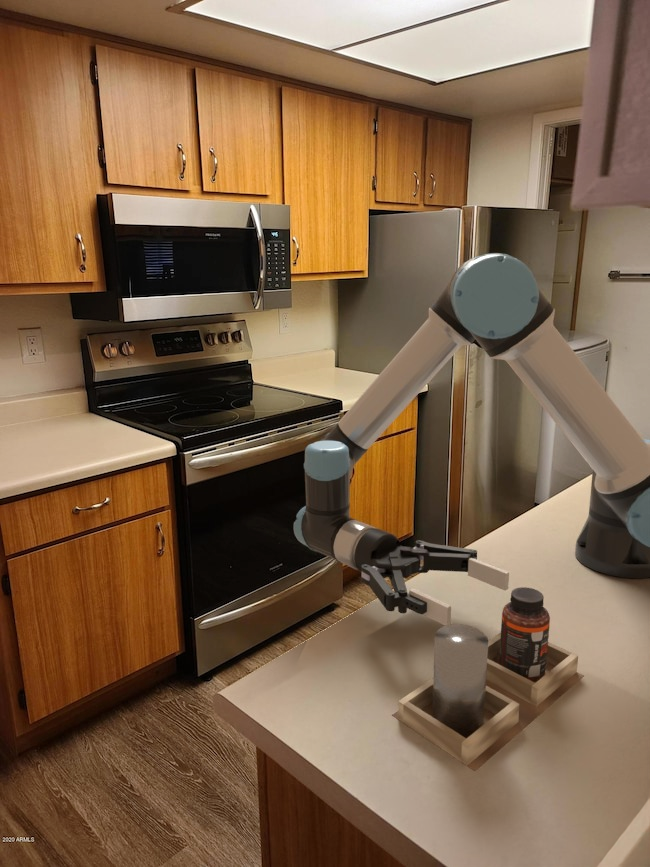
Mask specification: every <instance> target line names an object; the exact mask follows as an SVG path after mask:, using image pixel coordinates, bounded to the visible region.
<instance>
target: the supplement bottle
mask: <svg viewBox="0 0 650 867" xmlns="http://www.w3.org/2000/svg"><path fill="white" fill-rule="evenodd" d="M509 599H510V602H508V603H506V604H505V605H504V606H503V608H502V613H501V624H500V625H501V626H500V633H501V640H500V641H501V642H500V657H499V665H501V666H503V667H505V668H507V669H509V670H511V671H513V672H515V673H517V674H519V675H521V676H523V677H525V678H526V679H528V680H530V681H532V682H536V681H538V680H540V679H541V678H542V677H543V676H544V675H545V670H546V662H547V649H548V642H549V636H550V634H549V633H550V621H551V616H550V614H549V613H550V612H549V611H548V610H547V608H545V607H544V594H543V593H542V592H541V591H539V590H537V589H535V588H531V587H527V586H526V587H523V586H522V587H516V588H514V589H512V590H511V594H510V598H509Z"/></svg>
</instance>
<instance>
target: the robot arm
mask: <svg viewBox="0 0 650 867" xmlns="http://www.w3.org/2000/svg"><path fill="white" fill-rule="evenodd" d="M555 313H556V309H555V308H554V307H553V305H552V304H551V302H550V301H549V300H548V299H547V296H545V295H544V294H543V292H542V291H541V289H540V288H539V286H538V282H537V279H536V278H535V275H534V273H533V271H532V270H531V269H530V267H528V265H527V264H525V263H524V262H523V261H522V260H520V259H519V258H516V257H514V256H513V255H509V254H506V253H499V252H492V253H491V252H490V253H485V254H482V255H478V256H474V257H472V258H469V259H468V260H466V261H465V262H463V263H462V264H460V266H458V268H457V269H455V271H454V273H453V274H452V276H451V278H450V279H449V282H447V284H446V285H445V287H444V289H443V290H442V292H440V294H439V296H438V297H437V299H436V300H435V301H434V302H433V303H432V305H431V306H430V307H429V308H428V318H427V319H426V320H425V321H424V323H422V325H421V326H420V327H419V329H418V330H416V332H415V333H414V334H413V335H412V337H411V338H410V339H409V340H408V341H407V342H406V343H405V344H404V346H403V347H402V348H401V349H400V350H399V352H398V353H397V354H396V355H395V356H394V357H393V358H392V360H391V361H390V362H389V363H388V364H387V366H385V368H384V369H382V371H381V372H380V373H379V375H378V376H377V377H376V378H375V379H374V380H373V381H372V383H371V384H370V385H369V386H368V388H367V389H366V390H365V391H364V392H363V393H362V394H361V396H360V397H359V398H357V400H356V401H355V402H354V403H353V405H352V406H351V407H350V408H349V410H347V411H346V413H345V414H344V415H343V416H342V417H341V419H340V420H339V421H338V423H337V424H336V425H335V426H334V427H333V428H332V429H331V430H330V431H329V432H328V433H327V434H325V435H324V436H323V437H322V438H321V439H320V440H318V441H314V442H313V443H310V444H308V445H307V446H306V447H305V450H304V463H303V469H304V482H305V484H304V485H305V505H304V506H303V507H301V508H300V510H299V511H298V512H297V513H296V515H295V516H296V518H295V521H294V522H293V534H294V536H295V537H296V539H297V541H298V542H299V543H301V544H302V545H303V546H306V547H307V548H308V549H309V550H311V551H313V552H316V553H320V554H321V555H324V556H327V557H329V558H331V559H334V560H335V561H337V562H338V563H341V564H344V565H345V566H348V567H350V568H351V569H354V570H356V571H358V572H360V573H361V582H362V584H365V585H366V586H368V587H369V588H370V589H371V591H372V592H373V593H374V595H375V597H376V598H377V600H378V601H379V602H380V603H381V605H382V606H383V608H384V609H385V610H386V611H387V612H394V611H395V608H397V611H398V613H400V614H406V613H407V611H408V610H410V611H412V612H414V613H416V614H418V615H423V616H425V617H427V618H429V619H431V620H433V621H434V622H437V623H439V624H441V625H443V626H447V625H451V622H452V620H451V619H452V618H451V617H452V605H451V604H448V603H446V602H444V601H441V600H440V599H437V598H436V597H433V596H431V595H429V594H426V593H424V592H422V591H420V590H418V589H415V588H413V587H412V588H410V589H409V590H408V588H407V586H406V582H405V579H407V578H410V577H411V576H412V575H415V574H427V573H428V572H429V571H437V572H460V573H462V572H463V573H467V576H468V577H471V578H473V579H475V580H477V581H480V582H483V583H485V584H488V585H491V586H493V587H495V588H498V589H500V590H503V591H507V590H509V580H510V571H508V570H505V569H502V568H500V567H497V566H494V565H491V564H489V563H487V562H484V561H481V560H480V559H478V550H477V549H472V548H471V549H470V548H465V547H457V546H452V545H451V546H450V545H443V544H442V545H441V544H436V543H430V542H427V541H424V540H419V539H418V540H416V541H415V546H414V547H411V546H403V544H402V543H401V542H400V540H399V539H398V537H397V535H394V534H393V533H392V532H388V531H385V530H382V529H380V528H377V527H375V526H373V525H370V524H367V523H365V522H362V521H360V520H357V519H355V518H352V517H351V515H350V510H351V508H350V507H351V506H350V505H351V503H350V498H351V497H350V496H351V494H350V493H351V492H350V491H351V490H350V487H351V483H350V482H351V477H352V474H353V469H354V467H355V466H356V464H357V463H358V462H359V460H360V459H362V457H363V456H364V455H365V454H366V453H367V452H368V450H369V449H370V447H371V446H373V444H374V443H375V442H376V441H377V440H378V439H379V438H380V437H381V435H383V433H385V431H386V430H387V429H388V428H389V427H390V426H391V424H393V422H394V421H395V420H396V419H397V418H398V417H399V416H400V415H401V413H402V412H404V410H405V409H406V408H407V407H408V406H409V405H410V404H411V402H412V401H413V400H414V399H416V398H417V396H418V394H420V393H421V392H422V390H423V389H424V388H425V387H426V386H427V385H428V384H429V382H430V381H432V379H434V377H435V376H436V375H437V374H438V372H440V370H442V368H444V366H445V365H446V364H447V362H449V360H451V359H452V357H453V356H454V355H455V354H456V353H457V352H458V350H460V348H462V347H464V346H470V345H472V344H473V343H474V342H475V341H476V342H477V343H478V345H479V346H480V348H482V349H483V351H484V352H486V354H487V356H489V357H490V359H492V360H503V361H505V362H506V363H507V364H508V365H509V366H510V368H511V369H512V370H513V372H514V373H515V375H517V377H518V378H519V379H520V380H521V382H522V383H523V384H524V386H525V387H526V388H527V389H528V391H529V392H530V393H531V394H532V396H533V397H534V398H535V399H536V401H537V402H539V404H540V405H541V406H542V408H543V409H544V410H545V411H546V413H547V414H548V416H549V417H550V418H551V419H552V421H553V422H554V423H555V424H556V425H557V427H558V428H559V429H560V431H561V432H562V433H563V434H564V435H565V436H566V438H567V439H568V441H570V443H571V444H572V445H573V446H574V448H575V449H576V450H577V451H578V453H579V454H580V455H581V457H582V458H583V459H584V461H585V462H586V463H587V464H588V465H589V467H590V468H591V469H592V475H591V484H590V498H589V508H588V516H587V519H586V521H585V522H584V525H583V526H582V528H581V531H580V533H579V534H578V536H577V539H576V543H575V550H574V555H575V557H576V559H577V560H578V562H580V563H581V564H582V565H584V566H586V567H587V568H589V569H591V570H594V571H596V572H599V573H602V574H605V575H607V576H613V577H619V578H626V579H627V578H628V579H646V578H650V439H648V438H647V439H645V438H642V437H641V435H640V434H639V433H638V431H637V430H636V428H634V426H633V425H632V424H631V422H630V421H629V420H628V419H627V417H626V416H625V414H623V412H622V411H621V410H620V408H619V407H618V406H617V405H616V403H615V402H614V400H612V398H611V397H610V396H609V394H608V393H607V392H606V390H605V389H604V387H603V386H602V385H601V384H600V383H599V381H598V380H597V378H595V376H594V375H593V374H592V373H591V372H590V370H589V368H587V366H586V365H585V363H584V362H583V361H582V360H581V359H580V357H579V356H578V355H577V353H576V352H575V351H574V350H573V348H572V347H571V346H570V344H569V343H568V342H567V341H566V339H565V338H564V337H563V335H562V334H561V333H560V332H559V330H558V329H557V328H556V327H555V325H554V318H555ZM421 560H422V562H423V564H422V566H421ZM386 578H389V580H390V584H391V586H390V585H389V583H388V582H387V580H385V579H386ZM392 588H393V589H392Z"/></svg>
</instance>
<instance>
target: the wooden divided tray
mask: <svg viewBox="0 0 650 867" xmlns="http://www.w3.org/2000/svg"><path fill="white" fill-rule="evenodd" d="M500 640H501V632H499V633H498V634H496V635H495V636H493V637H491V638H490V639H488V657H487V675H486V693H485V712H484V725H483V726H482V727H480V728H479V729H478V730H477V731H475V732H474V733H473V734H472V735H470V736H469V737H468V738H465V737H463V736H461V735H460V734H458V733H457V732H455V731H454V730H452V729H450V728H449V727H447V726H446V725H444V724H443V723H441V722H439V721H438V720H436V719H435V718H433V717H432V711H433V678H434V677H432V678H431V679H429V680H427V681H426V682H425V683H423V684H422V685H420V686H419V687H417V688H416V689H414V690H413V691H412V692H410V693H408V694H406V695H405V696H404V697H402V698H401V699H400V700H398V702H397V703H398V704H397V705H398V707H397V711H395V712H394V713H392V715H391V716H392V717H394V718H395V719H396V720H399V721H400V722H401V723H403V724H404V725H406V726H407V727H409V728H410V729H412V730H413V731H415V733H417V734H419V735H420V736H422V737H423V738H425V739H426V740H428V741H429V742H430V743H432V744H434V745H436V747H437V748H440V749H441V750H442V751H444V752H445V753H447V754H448V755H450V756H452V758H455V759H456V760H458V761H459V763H462V764H464V765H465V766H466V767H468V768H469V769H470V770H472V771H473V772H476V771H477V770H478V769H480V767H482V766H483V765H484V764H486V762H488V760H489V759H491V758H492V757H493V756H494V755H495V754H496V753H498V752H499V751H500V750H501V749H502V748H503V747H505V746H506V745H507V744H508V743H510V741H511V740H512V739H514V738H515V737H516V736H517V735H518V734H519V733H521V732H522V731H523V730H524V729H525V728H526V727H527V726H529V725H530V724H531V723H533V721H534V720H535V719H537V718H538V717H539V716H540V715H541V714H543V712H544V711H546V710H547V709H548V708H549V707H550V706H551V705H553V703H555V702H556V701H557V700H558V699H559V698H561V696H563V695H564V694H565V693H566V692H567V691H569V690H570V689H571V688H572V687H573V686H574V685H575V684H577V683H578V682H579V681H580V680H581V679H582V678H583V677H584V676H585V675H584V674H581V673H580V672H577V671H578V664H579V663H578V662H579V655H578V654H576V653H574V652H571V651H569V650H567V649H566V648H564V647H560V646H558V645H556V644H554V643H551V642H550V641H548V649H547V662H546V670H545V675H544V676H543V677H542V678H541V679H540V680H538V681H536V682H532V681H530V680H528V679H526V678H525V677H523V676H521V675H519V674H517V673H515V672H513V671H511V670H509V669H507V668H505V667H503V666H501V665H499V657H500V642H501V641H500Z"/></svg>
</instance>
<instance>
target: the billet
mask: <svg viewBox="0 0 650 867" xmlns="http://www.w3.org/2000/svg"><path fill="white" fill-rule="evenodd" d="M488 641H489V639H488V637H487V635H486V634H485V633H484V632H483V631H481V630H480V629H478V628H476V627H473V626H470V625H467V624H457V623H456V624H450V625H447V626H445V625H443V626H442V627H440V628H439V629H437V631H435V634H434V648H433V649H434V650H433V651H434V652H433V677H432V678H433V711H432V717H433V718H435V719H436V720H438V721H439V722H441V723H443V724H444V725H446V726H447V727H449V728H450V729H452V730H454V731H455V732H457V733H458V734H460V735H461V736H463V737H465V738H468V737H469V736H470V735H472V734H473V733H474V732H475V731H477V730H478V729H479V728H480V727H482V726H483V725H484V712H485V693H486V675H487V657H488Z"/></svg>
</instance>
